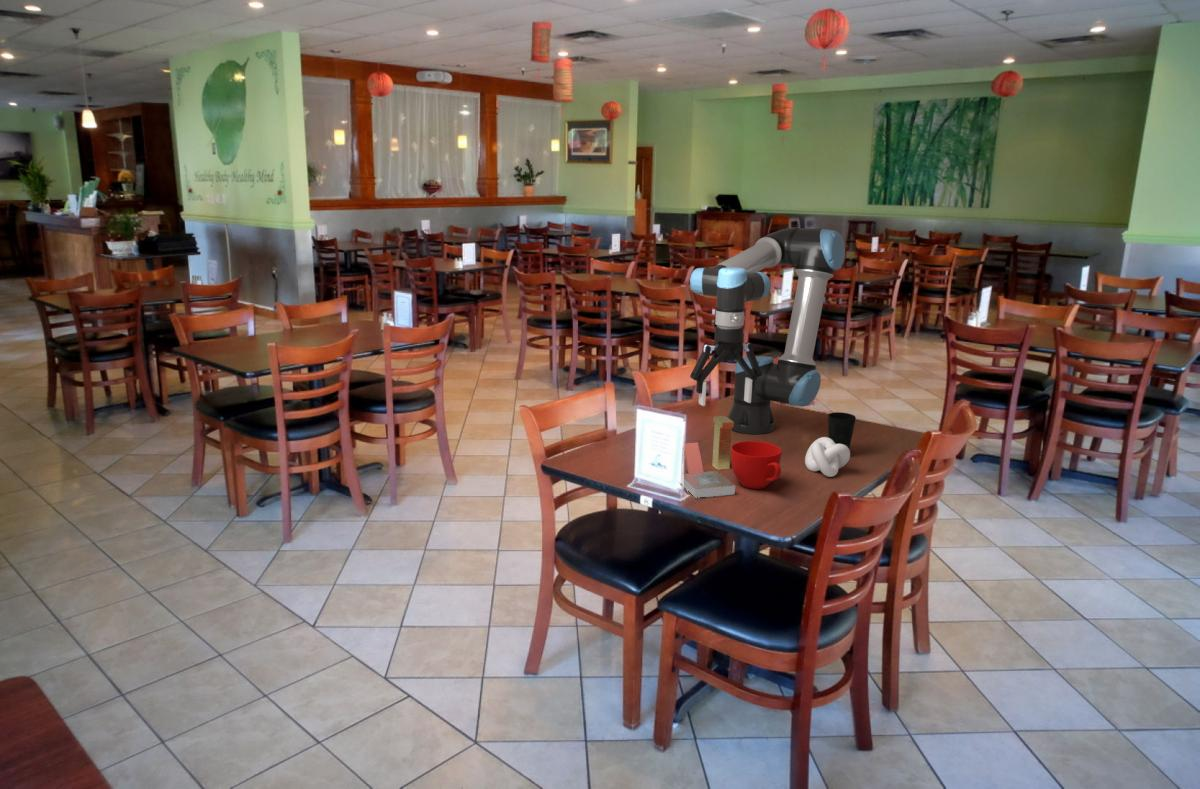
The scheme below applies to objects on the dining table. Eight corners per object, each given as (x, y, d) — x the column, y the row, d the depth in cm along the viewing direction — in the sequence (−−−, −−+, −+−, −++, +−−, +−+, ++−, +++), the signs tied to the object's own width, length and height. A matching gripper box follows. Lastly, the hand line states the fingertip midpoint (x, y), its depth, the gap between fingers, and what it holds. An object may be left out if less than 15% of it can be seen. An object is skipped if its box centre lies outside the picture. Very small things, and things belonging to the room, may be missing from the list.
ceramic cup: (755, 502, 202) (758, 464, 200) (719, 479, 217) (721, 444, 215) (798, 495, 207) (801, 458, 205) (760, 473, 222) (762, 438, 220)
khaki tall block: (710, 464, 229) (713, 416, 225) (722, 463, 230) (725, 415, 226) (719, 471, 223) (722, 422, 219) (731, 470, 224) (734, 421, 220)
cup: (853, 460, 233) (857, 420, 230) (825, 458, 235) (829, 418, 232) (850, 451, 241) (854, 413, 237) (824, 449, 242) (827, 411, 239)
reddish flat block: (681, 445, 219) (683, 443, 218) (697, 443, 221) (699, 441, 219) (688, 481, 216) (690, 479, 215) (704, 479, 217) (706, 478, 216)
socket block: (678, 483, 214) (679, 474, 213) (716, 479, 217) (717, 470, 216) (694, 498, 204) (695, 489, 203) (734, 494, 207) (735, 485, 206)
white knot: (841, 483, 216) (844, 451, 213) (796, 475, 221) (799, 443, 219) (850, 470, 225) (853, 440, 223) (808, 463, 231) (810, 433, 229)
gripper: (691, 330, 209) (687, 409, 214) (778, 327, 216) (772, 403, 221) (680, 325, 216) (677, 402, 221) (764, 322, 223) (759, 396, 228)
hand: (724, 403), depth 221 cm, fingers open, 13 cm apart
